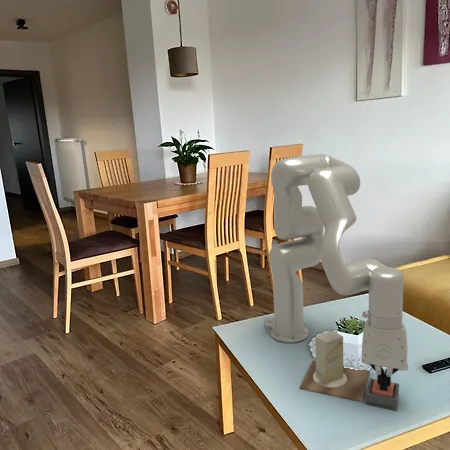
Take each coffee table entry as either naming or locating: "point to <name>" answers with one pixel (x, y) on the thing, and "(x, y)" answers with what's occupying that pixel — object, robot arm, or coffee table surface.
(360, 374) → the board
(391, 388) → the button
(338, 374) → the skincare box
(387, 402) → the button housing
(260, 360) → the coffee table surface
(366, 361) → the robot arm
